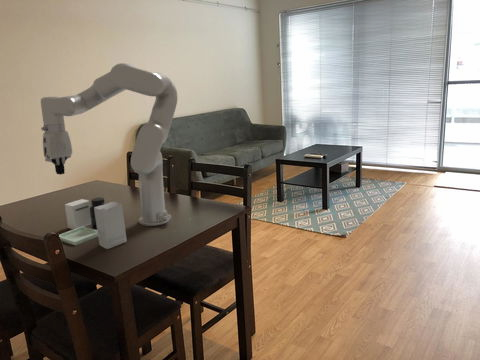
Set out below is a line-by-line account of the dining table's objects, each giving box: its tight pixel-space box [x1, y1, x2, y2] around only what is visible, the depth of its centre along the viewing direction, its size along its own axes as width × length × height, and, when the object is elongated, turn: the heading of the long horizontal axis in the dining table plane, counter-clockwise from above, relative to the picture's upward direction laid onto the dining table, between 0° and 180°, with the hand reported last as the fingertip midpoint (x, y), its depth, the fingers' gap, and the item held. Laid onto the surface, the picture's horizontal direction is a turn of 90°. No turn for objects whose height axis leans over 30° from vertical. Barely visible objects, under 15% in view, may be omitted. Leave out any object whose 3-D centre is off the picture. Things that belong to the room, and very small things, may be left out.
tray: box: [58, 226, 98, 247], centre depth 153 cm, size 12×12×2 cm
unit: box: [64, 198, 92, 230], centre depth 164 cm, size 6×8×10 cm
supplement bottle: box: [90, 197, 106, 230], centre depth 161 cm, size 7×7×12 cm
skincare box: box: [94, 201, 128, 250], centre depth 144 cm, size 8×6×15 cm
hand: (60, 173), depth 164 cm, fingers closed
